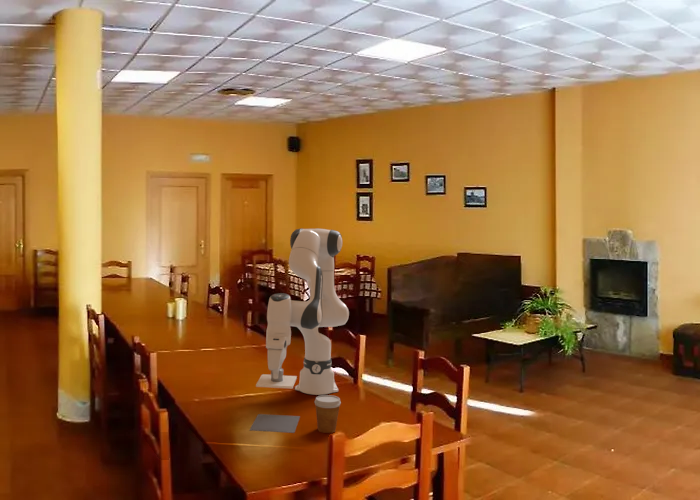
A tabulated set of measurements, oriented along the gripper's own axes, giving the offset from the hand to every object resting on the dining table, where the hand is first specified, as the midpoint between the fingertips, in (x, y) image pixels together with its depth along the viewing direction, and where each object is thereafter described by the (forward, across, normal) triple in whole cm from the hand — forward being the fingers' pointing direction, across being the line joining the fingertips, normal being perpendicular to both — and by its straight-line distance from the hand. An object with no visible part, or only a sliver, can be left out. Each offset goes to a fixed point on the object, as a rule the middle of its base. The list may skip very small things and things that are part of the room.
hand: (277, 376), depth 243 cm
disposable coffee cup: (+18, +5, +19) cm, 27 cm away
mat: (+18, +1, 0) cm, 18 cm away
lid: (+2, 0, 0) cm, 2 cm away
